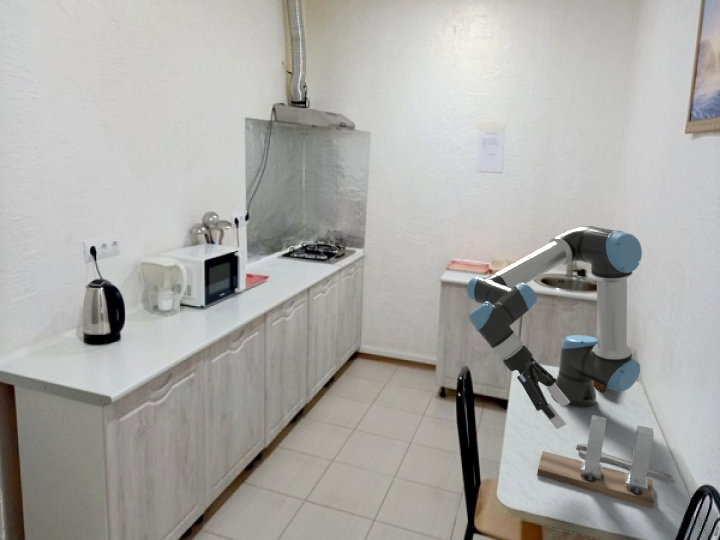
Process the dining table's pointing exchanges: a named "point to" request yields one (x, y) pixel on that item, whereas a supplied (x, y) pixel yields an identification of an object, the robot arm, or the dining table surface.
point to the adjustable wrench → (625, 463)
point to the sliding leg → (594, 448)
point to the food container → (599, 386)
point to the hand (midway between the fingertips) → (563, 415)
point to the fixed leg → (640, 460)
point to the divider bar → (608, 484)
